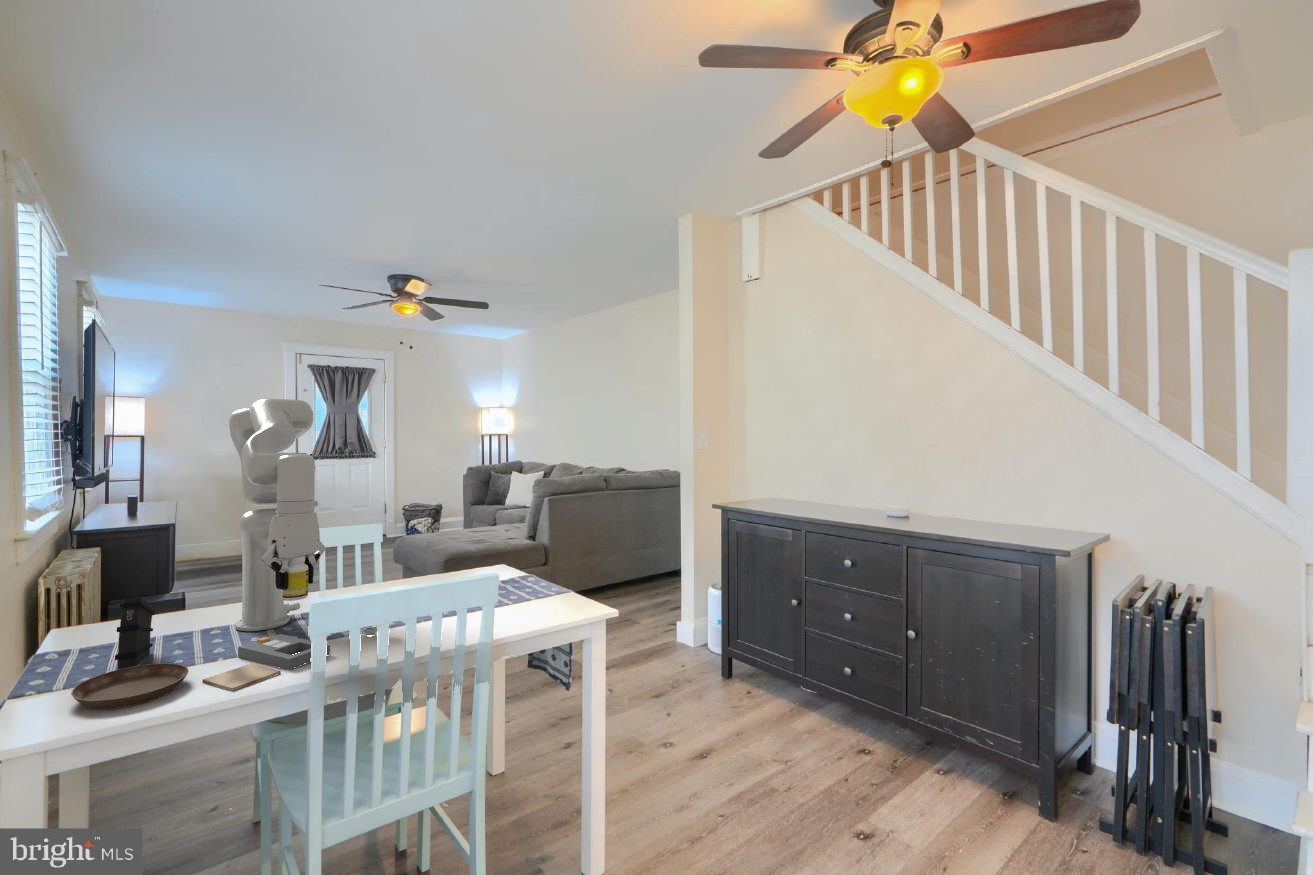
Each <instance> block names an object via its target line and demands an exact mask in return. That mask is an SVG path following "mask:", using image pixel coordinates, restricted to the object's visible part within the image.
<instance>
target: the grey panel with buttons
mask: <svg viewBox="0 0 1313 875" xmlns="http://www.w3.org/2000/svg"><path fill="white" fill-rule="evenodd" d="M311 641H312V640H311V639H305V638H300V637H295V636H291V635H287V634H286V635H285V634H281V633H279V634H276V635H273V636H269V637H268V636H263V637H260V638H257V640H256V641H253V642H249V643H245V644H242V645H238V647H237V653H238V654H237V657H238V658H239V659H243V660H247V661H251V662H255V663H259V664H262V665H267V666H270V665H271V666H270V667H274V666H275V668H278V667H280V668H279V669H282V668H283V669H282V670H286V669H289V670H288V671H291V670H290V669H292V670H294V669H295V668H294V667H297V668H299V667H298V666H300V665H303V664H304V663H308V664H311V663H310V658H311ZM326 644H327V655H329V654H330V655H331V645H330V644H328V643H326ZM298 652H300V653H298ZM295 653H297V654H295ZM292 654H294V655H292ZM303 666H304V665H303ZM300 667H301V666H300ZM293 668H294V669H293Z"/></svg>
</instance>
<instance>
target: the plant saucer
mask: <svg viewBox="0 0 1313 875" xmlns="http://www.w3.org/2000/svg"><path fill="white" fill-rule="evenodd" d="M188 674H189V668H188V667H187V666H185V665H183V664H180V663H171V662H170V663H168V662H166V663H165V662H164V663H163V662H162V663H149V664H148V663H147V664H141V665H140V664H139V665H138V666H133V667H128V668H123V669H119V670H118V669H117V670H112V671H111V670H110V671H109V672H105V673H102V674H99V675H96V676H93V677H91V678H89V679H86V680H85V681H82V682H81V683H79V684H78V685H76V686H75V687H73V688H72V691H71V692H70V695H71V697H72V698H73V699H74V700H76V701H77V702H78V703H79V704H81V705H82V706H84V707H86V708H89V709H92V710H113V709H120V708H121V709H122V708H126V707H132V706H135V705H141V704H144V703H148V702H151V701H154V700H156V699H159V698H163V697H164V696H166V695H168V694H170V693H171V692H173V691H175V690H176V688H177V687H179V686H180V685H181V683H182V682H183V681H184V680H185V678H186V676H188Z"/></svg>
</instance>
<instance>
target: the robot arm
mask: <svg viewBox="0 0 1313 875" xmlns="http://www.w3.org/2000/svg"><path fill="white" fill-rule="evenodd" d="M228 423H229V424H228V426H229V434H230V438H231V440H232V443H233V446H234V447H235V450H236V452H237V453H238V454H237V455H238V456H239V460H240V466H241V467H240V468H241V483H242V496H243V497H244V502H246V503H247V504H248V505H250V506H256V507H257V506H258V507H260V506H261V507H262V506H276V507H272V508H270V507H269V508H258V509H253V510H248V511H246V512H245V513H244V514H242V516H240V518H239V521H238V532H239V536H240V542H241V543H240V544H241V552H242V553H241V554H242V559H241V560H242V576H241V577H242V579H241V580H242V582H241V585H242V586H241V588H242V591H241V592H242V593H241V604H242V605H241V619H239V620H237V621H236V622H235V623H234V629H235V630H237V631H240V632H241V631H242V632H257V631H266V630H270V629H275V628H279V627H282V626H284V625H287V624H288V623H289V622H290V620H291V616H290V615H288V614H289V613H290V612H294V611H297V610H300V608H301V604H300V602H296V603H295V602H294V603H291V604H290V603H284V601H285V600H282V599H281V589H282V590H286V589H288V572H285V571H286V568H287V564H288V561H289V559H291V558H296V557H301V556H305V562H304V564H306V565H307V566H308V569H309V571H308V585H310V584H313V583H314V568H315V566H316V565H317V562H318V561H319V559H320V558H321V556H323V554H324V553H325V551H327V547H326V546H325V545H324V544H323V543H322V542H321V536H320V535H321V534H320V525H319V524H320V523H319V518H318V515H317V514H318V513H317V512H315V507H318V505H319V502H318V500H315V489H316V488H315V484H316V476H315V475H316V461H315V458H314V457H313V456H312V455H310V454H308V453H305V452H283V451H285V450H287V449H289V448H290V447H292V446H293V444H294V443H295V441H296V439H298V438H300V437H302V436H303V435H305V434H306V433H307V432H309V430H310V429H311V428H312V426H313V423H314V411H313V408H312V407H311V405H310V404H309V403H308V402H307V401H305V400H301V399H284V398H283V399H282V398H264V399H259V400H257V401H255V402H254V403H253V404H252V405H251V407H250V408H248V407H247V408H241V409H237V410H235V411H233V412H232V413H231V415H230V417H229V422H228Z"/></svg>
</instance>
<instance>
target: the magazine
mask: <svg viewBox="0 0 1313 875" xmlns="http://www.w3.org/2000/svg"><path fill="white" fill-rule="evenodd" d="M119 608H120V609H121V616H120V621H119V622H120V623H119V626H117V627H116V632H117V633H118V646H117V653H116V654H114V661H117V670H119V669H123V668H128V667H133V666H139V665H140V663H141V662H143V661H144V660H145V659H146V657H148V655H149V654H150V653H151V648H152V647H153V646H154V645H153V643H152V642H151V632H154V628H153V627H152V620H153V616H155V615H156V611H155V610H154V605H152V604H151V603H149V602H148V601H146V600H145V599H144V598H143V597H139V596H138V597H126V598H123V602H122V603H120V604H119Z"/></svg>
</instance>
